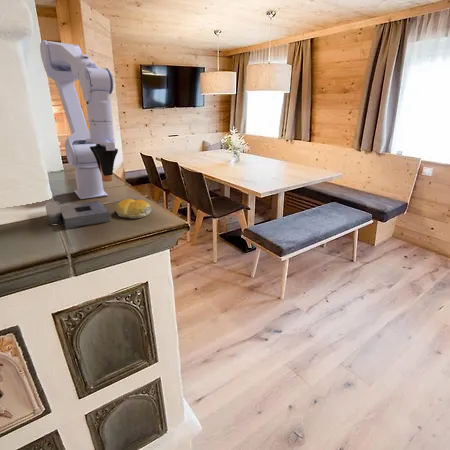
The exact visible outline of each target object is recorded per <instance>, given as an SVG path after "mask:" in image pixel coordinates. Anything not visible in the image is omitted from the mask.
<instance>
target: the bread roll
mask: <svg viewBox="0 0 450 450" xmlns="http://www.w3.org/2000/svg"><path fill="white" fill-rule="evenodd" d="M115 212H116V214H117V215H118V217H120V218H124V219H125V218H129V219H134V220H135V219H142V218H145V217H147V216H149V215H150V214H151V213H152V206H151V204H150V203H148V202H147V201H146V200H144V199H137V200H135V199H133V198H126V199H122V200H121V201H119V202H118V203H117V205H116V207H115Z"/></svg>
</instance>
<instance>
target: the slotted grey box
mask: <svg viewBox="0 0 450 450" xmlns="http://www.w3.org/2000/svg"><path fill="white" fill-rule="evenodd" d="M44 207H45V212H46V216H47V223H48V225H49V224H59V225H61V224H63V226H64V228H65V229H66V230H67V229H74V228H78V227H83V226H84V227H85V226H90V225H96V224H102V223H108V222H111V219H110V211H109V210H108V209H107V208H106V207H105V205H104V204H103V203H102V202H101V200H96V201H88V202H87V201H86V202H79V203H72V204H66V205H65V204H64V205H61V204H60V202H59V201H57V200H55V201H53V200H52V201H51V200H50V201H47V202H45V203H44Z"/></svg>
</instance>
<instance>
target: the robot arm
mask: <svg viewBox="0 0 450 450" xmlns="http://www.w3.org/2000/svg"><path fill="white" fill-rule="evenodd" d="M39 50H40V58H41V61H42V64H43V68H44V71H45V73H46V76H47V77H48V78H50V79H52V80H53V81H54V83H55V84H54V85H55V86H56V88H57V91H58V94H59V95H58V96H59V97H60V102H61V104H62V107H63V111H64V113H65V116H66V120H67V123H68V127H69V129H70V133H71V134H70V135H69V136H68V137H67V138H66V139H65V142H64V148H65V155H66V159H67V162H68V164H69V165H70V166H71V167H73V168H74V171H75V180H76V186H77V187H76V188H77V189H74V193H75V194H76V195H77V197H78V198H79V199H80V200H85V199H93V198H99V197H108V193H107V192H106V191H105V190H104V184H103V182H104V181H102V176H101V169H102V172H103V175H104V176H108V175H112V176H113V172H114V164H115V160H116V157H117V154H118V152H119V149H118V148H116V138H115V133H114V125H113V124H114V123H113V111H112V102H111V101H112V100H111V94H112V93H113V91H114V77H113V74H112V72H111V70H110V69H109V68H107V67H103V68H100V67H99V66H98V65H97V64H96V63H95V62H94V61H93V60H92V59H90V57H89V55H88V54H85V53H83V52H82V49H81V47H80V46H79V45H78V44H77V43H76V44H75V43H74V44H73V43H72V44H71V43H65V42H64V43H63V42H58V41H49V40H45V39H42V40H41V41H40V43H39ZM76 81H79V87H80V88H81V91H82V97H83V100H84V101H85V105H86V113H87V119H88V120H87V121H88V125H87V121H86V118H85V115H84V112H83V109H82V106H81V102H80V99H79V95H78V91H77V89H76V86H75V82H76ZM88 127H89V128H88ZM100 165H101V167H100Z"/></svg>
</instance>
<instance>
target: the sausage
mask: <svg viewBox="0 0 450 450" xmlns="http://www.w3.org/2000/svg"><path fill="white" fill-rule="evenodd" d="M100 167H101V165H100ZM101 176H102V182H112V181H113V174H112V175H108V176H104V175H103V172H102V169H101Z"/></svg>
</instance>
